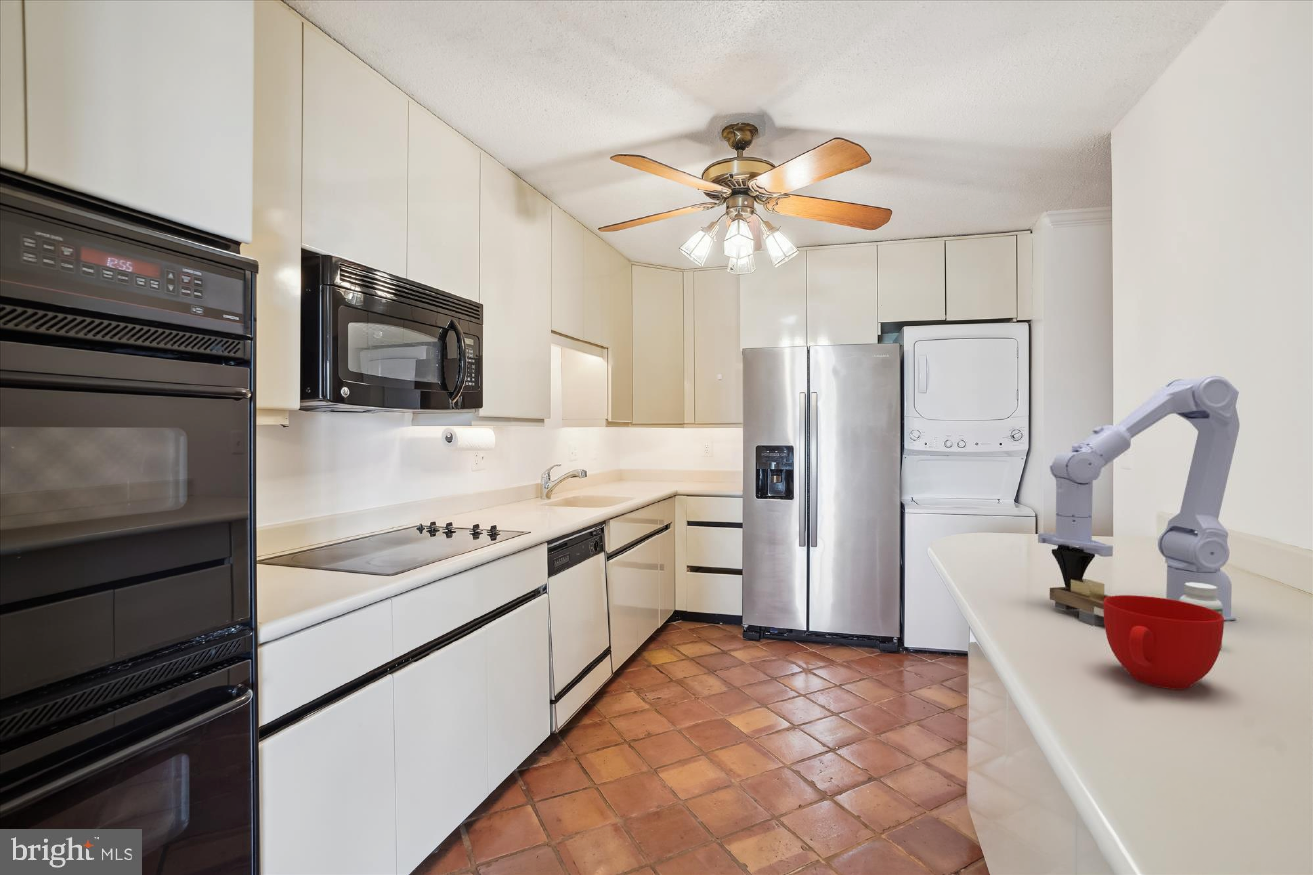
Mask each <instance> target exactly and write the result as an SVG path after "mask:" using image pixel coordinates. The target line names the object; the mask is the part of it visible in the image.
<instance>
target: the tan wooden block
mask: <svg viewBox="0 0 1313 875" xmlns="http://www.w3.org/2000/svg"><path fill="white" fill-rule="evenodd" d="M1105 586H1106V585H1105V583H1103V582H1099V581H1095V580H1091V579H1087V578H1082V579H1071V593H1074V594H1078V595H1081V596H1085V597H1088V598H1091V599H1095V600H1098V601H1101V602H1103V600H1104V594H1105Z"/></svg>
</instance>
